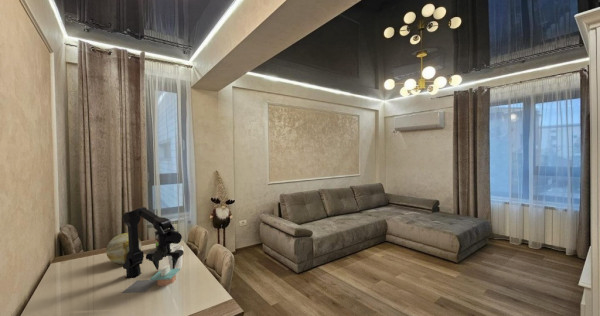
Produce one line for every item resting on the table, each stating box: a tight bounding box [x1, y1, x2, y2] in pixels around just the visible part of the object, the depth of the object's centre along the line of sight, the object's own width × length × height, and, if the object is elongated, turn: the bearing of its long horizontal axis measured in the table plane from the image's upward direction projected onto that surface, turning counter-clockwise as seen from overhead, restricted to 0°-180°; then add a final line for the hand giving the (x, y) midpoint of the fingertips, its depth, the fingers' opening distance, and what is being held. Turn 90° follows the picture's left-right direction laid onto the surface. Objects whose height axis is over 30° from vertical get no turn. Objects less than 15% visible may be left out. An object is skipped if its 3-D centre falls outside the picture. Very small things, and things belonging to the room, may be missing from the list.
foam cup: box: [167, 245, 185, 269], centre depth 159 cm, size 10×9×13 cm
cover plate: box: [149, 264, 181, 280], centre depth 141 cm, size 11×11×4 cm
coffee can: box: [154, 229, 168, 251], centre depth 196 cm, size 10×10×14 cm
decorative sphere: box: [105, 232, 142, 265], centre depth 172 cm, size 20×20×20 cm
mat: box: [121, 279, 157, 294], centre depth 138 cm, size 13×13×1 cm
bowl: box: [156, 273, 177, 287], centre depth 142 cm, size 9×9×4 cm
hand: (165, 269), depth 142 cm, fingers open, 9 cm apart
